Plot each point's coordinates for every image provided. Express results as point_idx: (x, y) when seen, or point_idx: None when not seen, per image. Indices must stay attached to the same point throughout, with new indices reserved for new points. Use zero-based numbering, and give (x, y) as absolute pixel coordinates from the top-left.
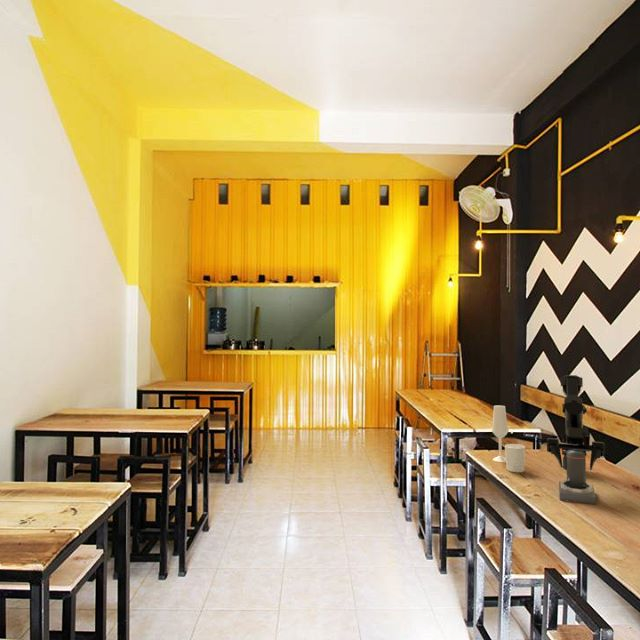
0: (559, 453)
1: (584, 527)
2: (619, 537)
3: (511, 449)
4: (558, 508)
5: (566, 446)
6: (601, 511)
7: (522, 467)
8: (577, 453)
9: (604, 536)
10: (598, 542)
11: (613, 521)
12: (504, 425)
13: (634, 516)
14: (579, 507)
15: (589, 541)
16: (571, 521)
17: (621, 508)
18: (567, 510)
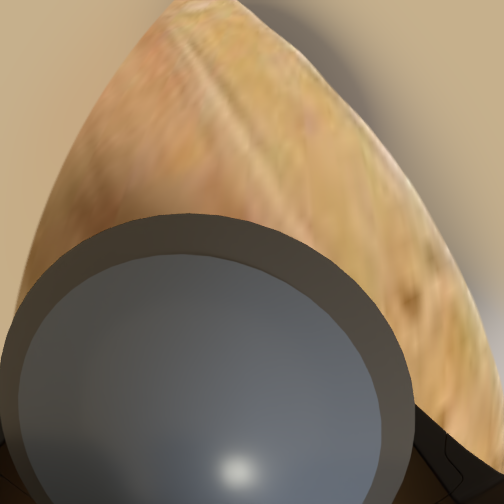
0: (452, 471)
1: (233, 60)
2: (161, 46)
3: None
4: (312, 163)
5: None
6: (146, 186)
7: None
8: (152, 262)
9: (194, 40)
10: (214, 22)
11: (136, 115)
12: None
13: (54, 183)
14: (228, 199)
15: (232, 21)
16: (266, 80)
17: (63, 251)
18: (278, 153)
